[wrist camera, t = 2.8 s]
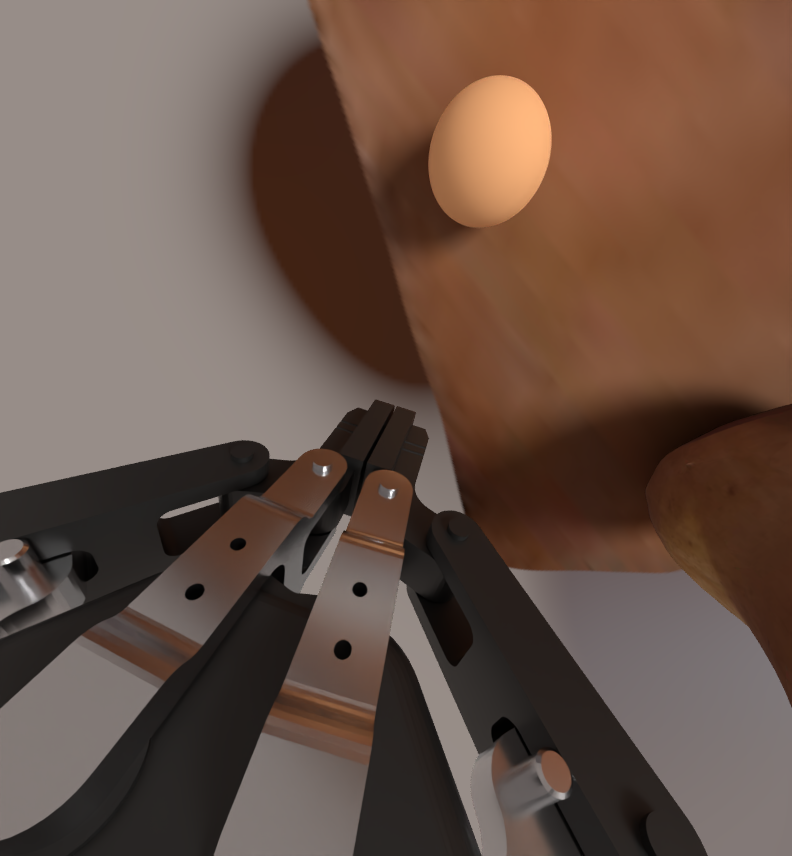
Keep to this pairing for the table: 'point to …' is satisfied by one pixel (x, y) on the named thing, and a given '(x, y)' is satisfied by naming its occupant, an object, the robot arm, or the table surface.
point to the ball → (489, 151)
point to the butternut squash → (735, 523)
